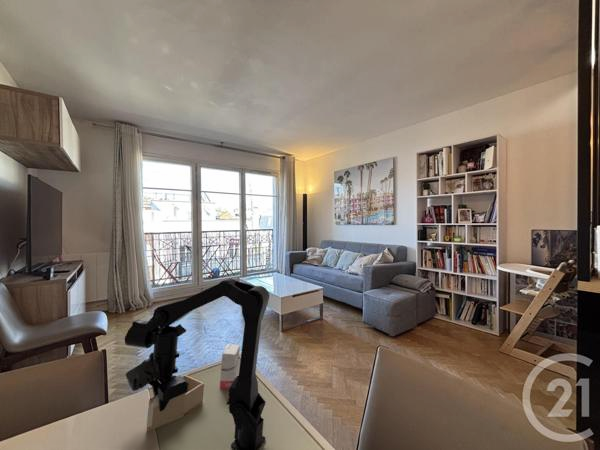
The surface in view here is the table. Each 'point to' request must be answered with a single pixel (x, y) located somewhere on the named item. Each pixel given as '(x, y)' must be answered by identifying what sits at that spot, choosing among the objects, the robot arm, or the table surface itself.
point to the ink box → (229, 365)
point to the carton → (193, 394)
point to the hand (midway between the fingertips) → (159, 407)
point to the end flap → (164, 411)
